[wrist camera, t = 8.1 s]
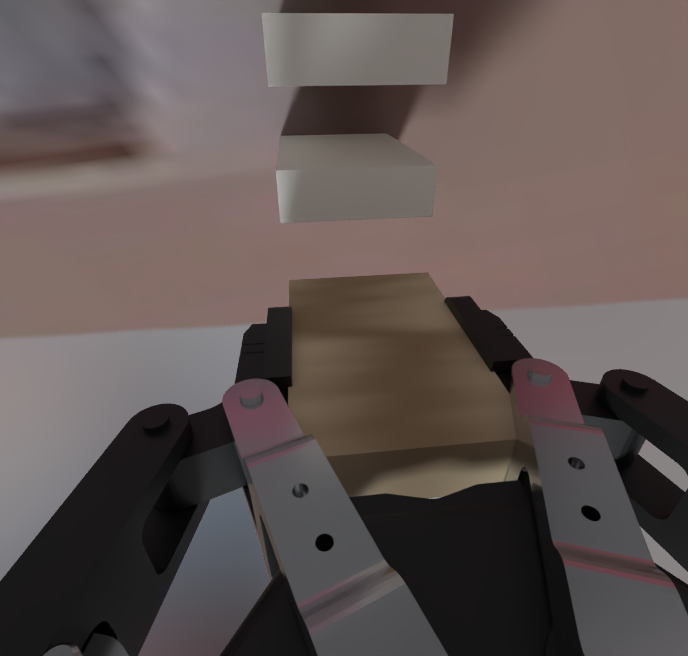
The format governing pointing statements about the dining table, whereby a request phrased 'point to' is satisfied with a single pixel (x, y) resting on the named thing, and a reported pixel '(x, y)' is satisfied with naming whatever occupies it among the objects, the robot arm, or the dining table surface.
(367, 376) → the domino
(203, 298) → the dining table surface
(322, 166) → the domino
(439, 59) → the domino
